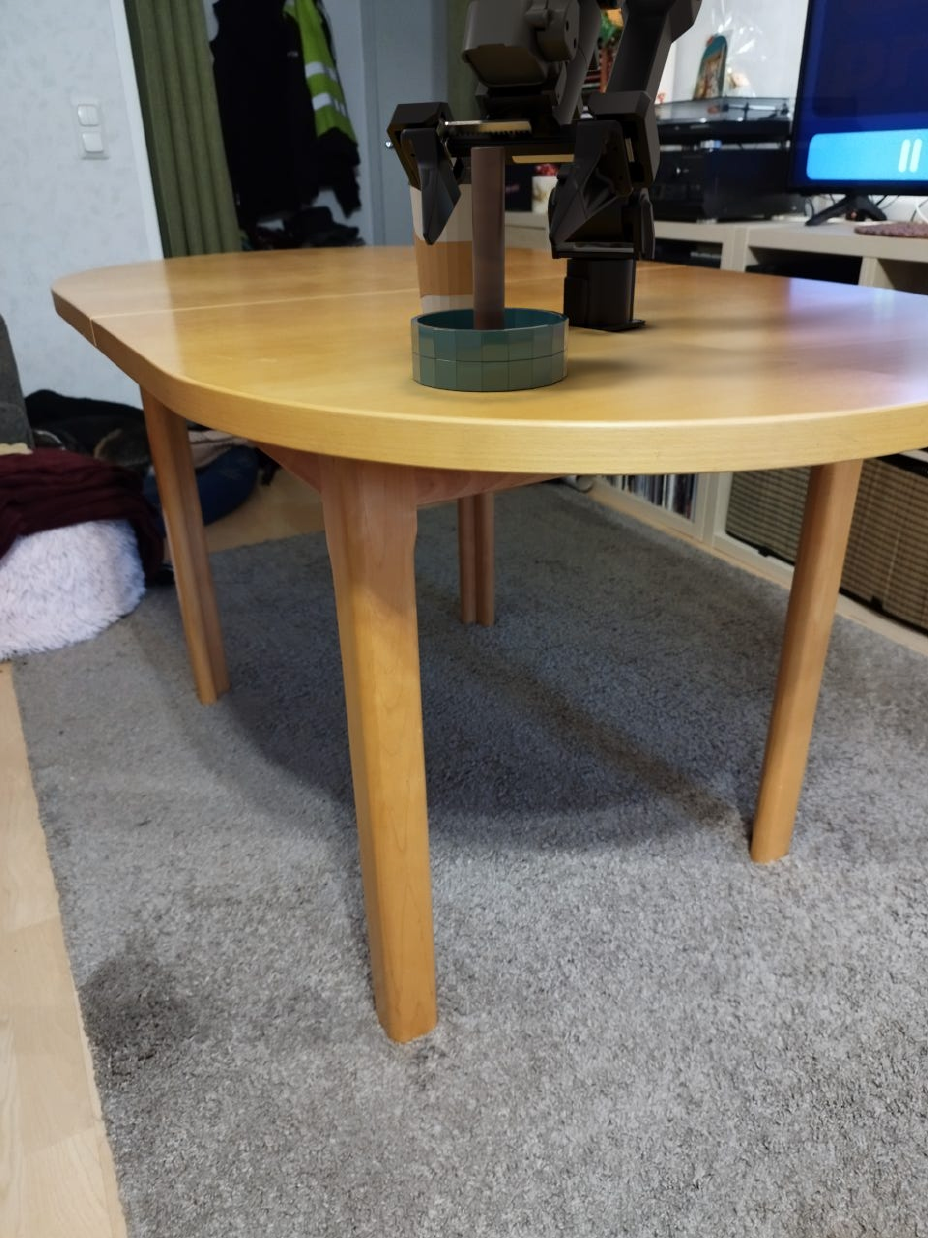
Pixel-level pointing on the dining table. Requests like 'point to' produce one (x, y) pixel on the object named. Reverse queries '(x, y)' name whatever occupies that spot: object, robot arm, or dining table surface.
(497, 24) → the robot arm
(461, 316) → the bowl
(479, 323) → the stick
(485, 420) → the dining table surface
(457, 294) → the coffee cup
